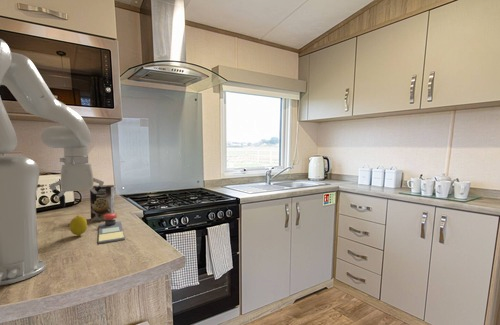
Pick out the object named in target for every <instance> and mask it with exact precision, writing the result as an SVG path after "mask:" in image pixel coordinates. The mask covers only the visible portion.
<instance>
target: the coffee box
mask: <svg viewBox="0 0 500 325" xmlns="http://www.w3.org/2000/svg"><path fill="white" fill-rule="evenodd" d="M98 186H99V185H93V187H94V188H95V189H96V188H97V187H98ZM89 192H90V194H89V197H90V199H89V201H90V222H94V221H106V220H105V219H104V215H105V214H110V213H116V212H115V185H114V184H110V185H109V184H107V185H104V184H103V186H102V187H101V189H100V190H99V191H98V192H97V193H96V199H97V201H95V204H92V191H90V190H89ZM109 220H110V219H109Z"/></svg>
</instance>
